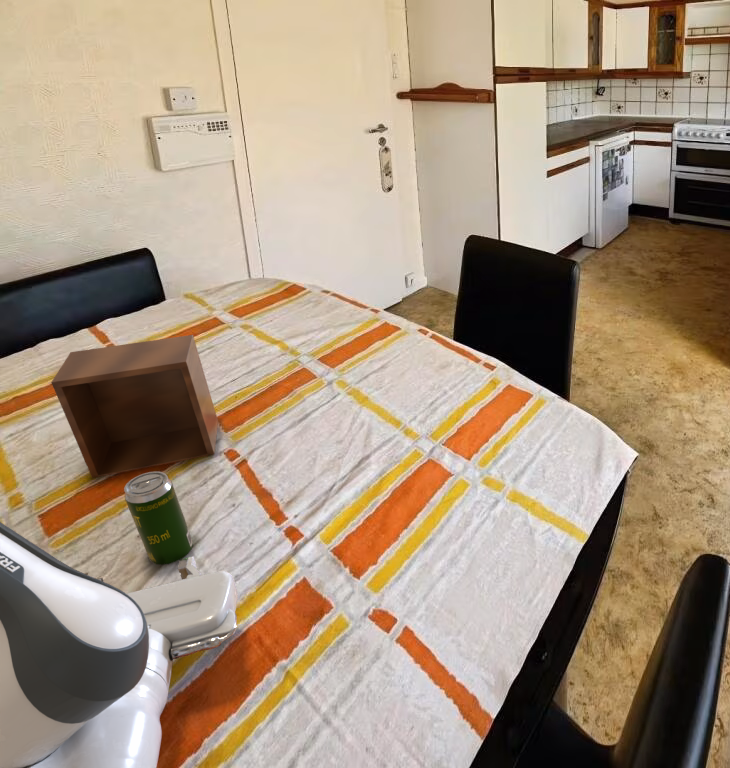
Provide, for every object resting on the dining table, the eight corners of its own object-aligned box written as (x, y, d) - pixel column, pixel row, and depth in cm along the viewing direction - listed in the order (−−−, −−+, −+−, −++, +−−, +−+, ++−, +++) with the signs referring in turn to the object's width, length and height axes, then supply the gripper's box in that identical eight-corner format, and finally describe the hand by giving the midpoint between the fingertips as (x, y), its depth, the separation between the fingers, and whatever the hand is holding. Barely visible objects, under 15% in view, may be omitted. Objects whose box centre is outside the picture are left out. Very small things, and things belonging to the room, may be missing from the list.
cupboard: (93, 482, 99) (51, 382, 90) (107, 445, 108) (70, 352, 99) (215, 458, 104) (186, 361, 95) (219, 425, 113) (192, 334, 105)
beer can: (189, 535, 87) (164, 465, 82) (199, 556, 84) (174, 485, 78) (147, 552, 85) (118, 481, 79) (155, 575, 81) (125, 502, 75)
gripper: (228, 618, 61) (233, 529, 73) (-18, 683, 56) (31, 575, 67) (242, 661, 64) (246, 569, 76) (11, 727, 59) (53, 616, 70)
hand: (143, 572), depth 71 cm, fingers open, 8 cm apart
